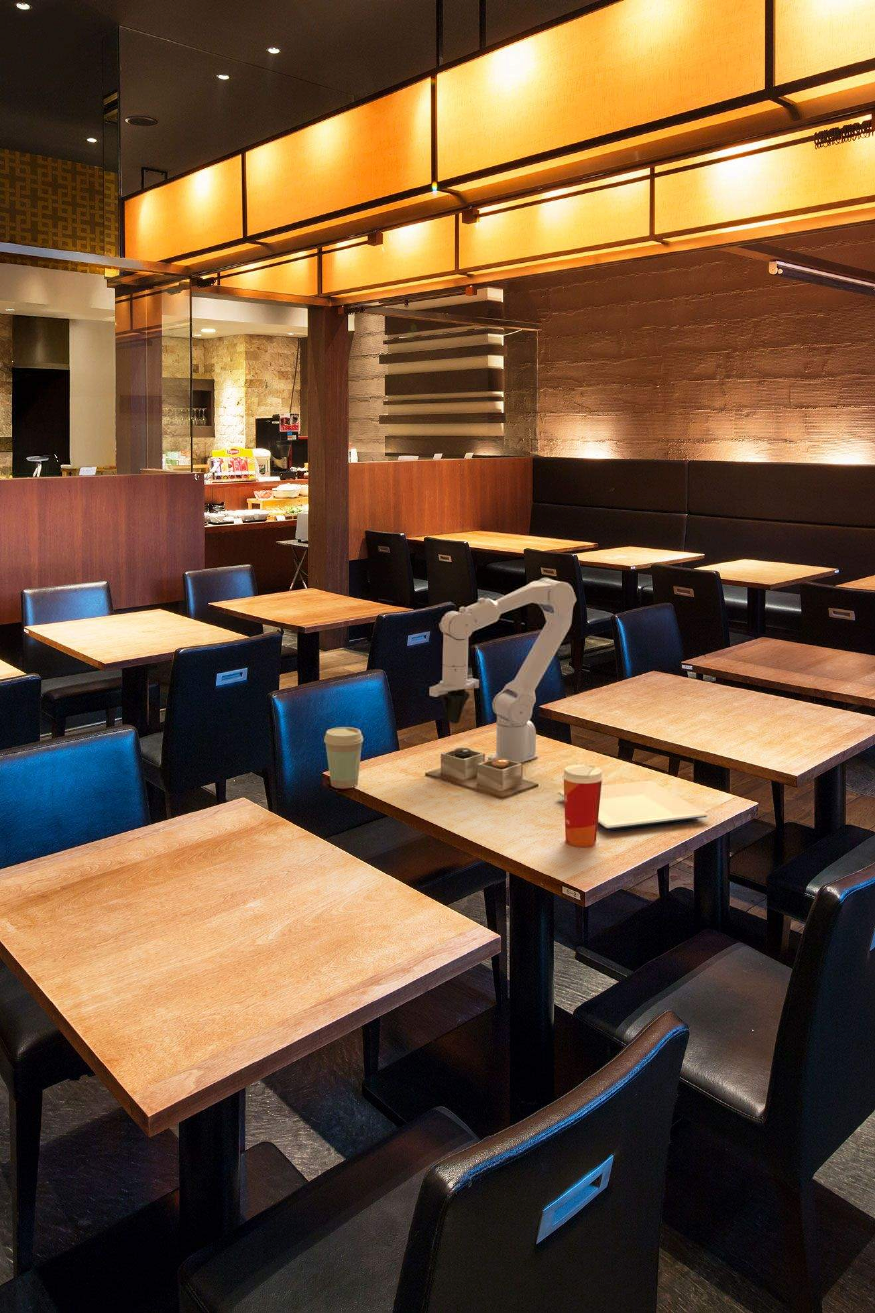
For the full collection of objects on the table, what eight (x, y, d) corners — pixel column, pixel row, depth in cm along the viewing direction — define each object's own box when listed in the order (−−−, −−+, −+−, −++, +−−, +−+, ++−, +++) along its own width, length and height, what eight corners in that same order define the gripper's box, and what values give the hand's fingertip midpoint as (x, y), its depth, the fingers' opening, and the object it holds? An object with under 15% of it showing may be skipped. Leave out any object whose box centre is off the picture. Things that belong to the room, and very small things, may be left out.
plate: (606, 837, 192) (606, 826, 192) (556, 799, 213) (557, 790, 213) (708, 824, 199) (709, 814, 199) (650, 788, 220) (651, 779, 220)
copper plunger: (498, 778, 224) (498, 755, 223) (515, 783, 221) (515, 760, 220) (484, 783, 221) (484, 760, 220) (500, 788, 218) (501, 765, 217)
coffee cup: (362, 791, 218) (361, 737, 215) (322, 790, 218) (321, 736, 216) (365, 778, 226) (364, 726, 224) (327, 778, 226) (326, 726, 224)
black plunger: (462, 767, 232) (462, 745, 231) (477, 772, 229) (477, 750, 228) (447, 772, 228) (447, 750, 227) (463, 777, 225) (463, 754, 224)
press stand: (461, 763, 237) (461, 743, 236) (538, 785, 221) (538, 763, 220) (425, 775, 229) (425, 753, 228) (502, 799, 213) (502, 776, 212)
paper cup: (574, 831, 195) (576, 761, 192) (609, 840, 190) (611, 769, 187) (551, 843, 189) (553, 770, 186) (587, 853, 184) (589, 779, 181)
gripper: (463, 658, 239) (462, 714, 241) (420, 665, 228) (419, 724, 231) (486, 662, 234) (484, 719, 236) (442, 670, 224) (441, 730, 226)
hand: (453, 722), depth 233 cm, fingers closed
